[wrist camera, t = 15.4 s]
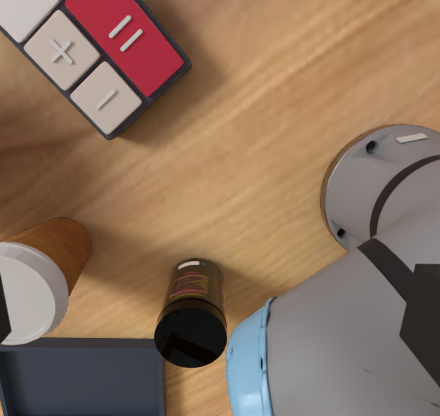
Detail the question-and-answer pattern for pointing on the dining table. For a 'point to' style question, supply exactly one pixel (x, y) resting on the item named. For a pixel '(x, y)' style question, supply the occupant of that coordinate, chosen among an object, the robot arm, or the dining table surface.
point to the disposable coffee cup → (41, 275)
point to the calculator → (97, 54)
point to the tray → (82, 378)
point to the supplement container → (192, 315)
